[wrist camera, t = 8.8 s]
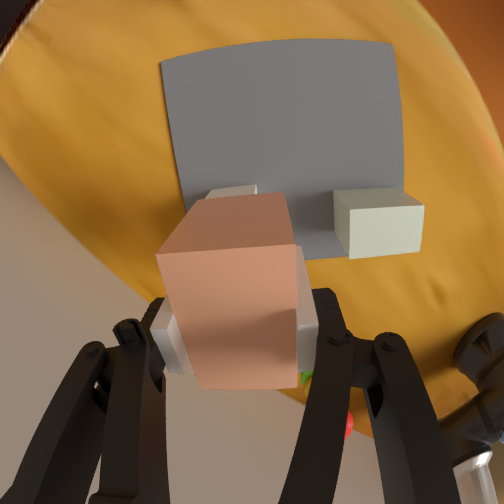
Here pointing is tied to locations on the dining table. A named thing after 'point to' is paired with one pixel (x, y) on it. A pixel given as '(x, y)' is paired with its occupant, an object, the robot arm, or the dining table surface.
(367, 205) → the sage brick
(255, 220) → the terracotta brick
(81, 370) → the robot arm
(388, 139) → the charcoal mat
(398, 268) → the dining table surface
